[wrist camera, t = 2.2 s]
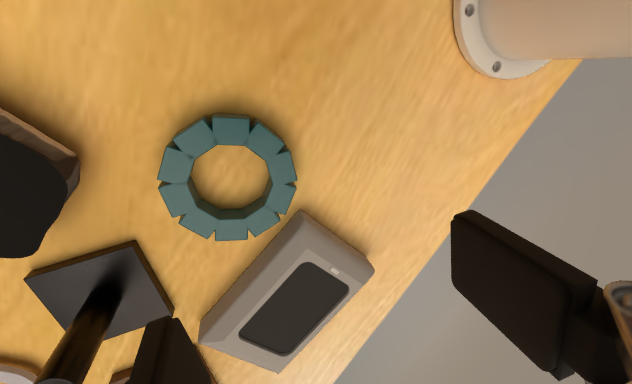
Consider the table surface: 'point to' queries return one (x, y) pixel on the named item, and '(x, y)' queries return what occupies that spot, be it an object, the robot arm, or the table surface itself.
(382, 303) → the table surface
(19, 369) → the hand saw
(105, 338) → the black post
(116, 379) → the brown peg stand
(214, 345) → the grey flat block
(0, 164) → the black sponge
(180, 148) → the ring
